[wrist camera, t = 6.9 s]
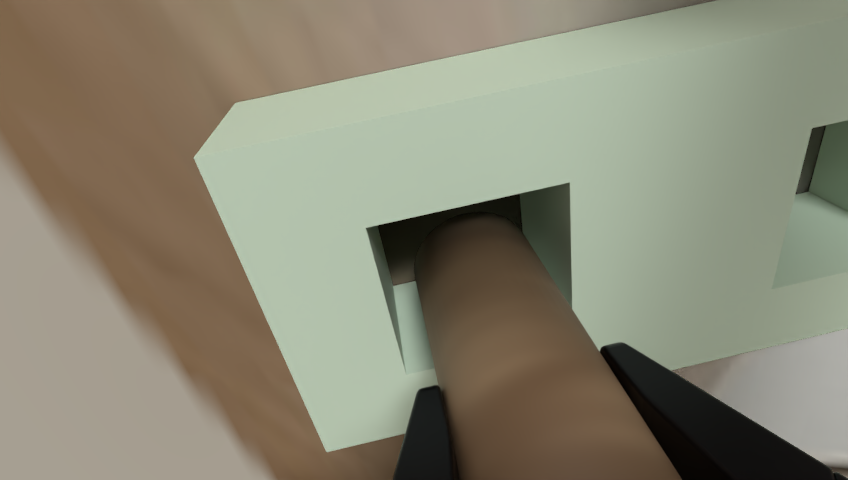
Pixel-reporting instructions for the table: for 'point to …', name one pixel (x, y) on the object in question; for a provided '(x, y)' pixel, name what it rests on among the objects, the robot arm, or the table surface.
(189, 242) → the table surface
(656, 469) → the peg
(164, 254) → the table surface
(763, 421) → the table surface
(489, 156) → the hole block
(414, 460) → the robot arm
